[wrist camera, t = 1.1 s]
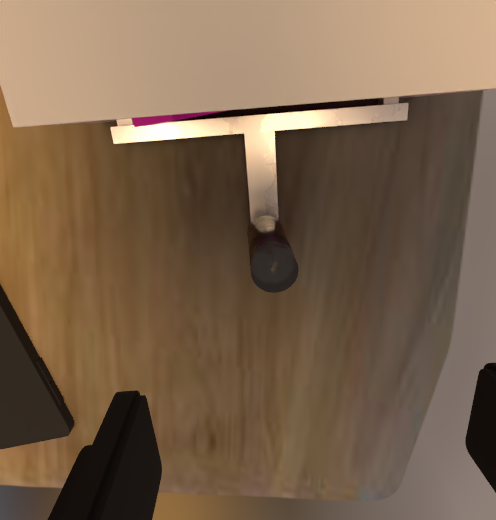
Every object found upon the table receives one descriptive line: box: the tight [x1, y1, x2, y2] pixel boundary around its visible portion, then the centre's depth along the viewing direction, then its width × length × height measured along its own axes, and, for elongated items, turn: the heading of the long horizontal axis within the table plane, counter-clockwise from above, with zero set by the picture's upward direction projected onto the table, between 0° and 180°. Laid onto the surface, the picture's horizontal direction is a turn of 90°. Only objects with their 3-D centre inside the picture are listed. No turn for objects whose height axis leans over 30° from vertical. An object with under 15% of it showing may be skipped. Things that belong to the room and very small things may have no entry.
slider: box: [110, 96, 409, 292], centre depth 21 cm, size 18×19×8 cm
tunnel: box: [0, 0, 496, 127], centre depth 19 cm, size 8×22×10 cm, turn 94°
